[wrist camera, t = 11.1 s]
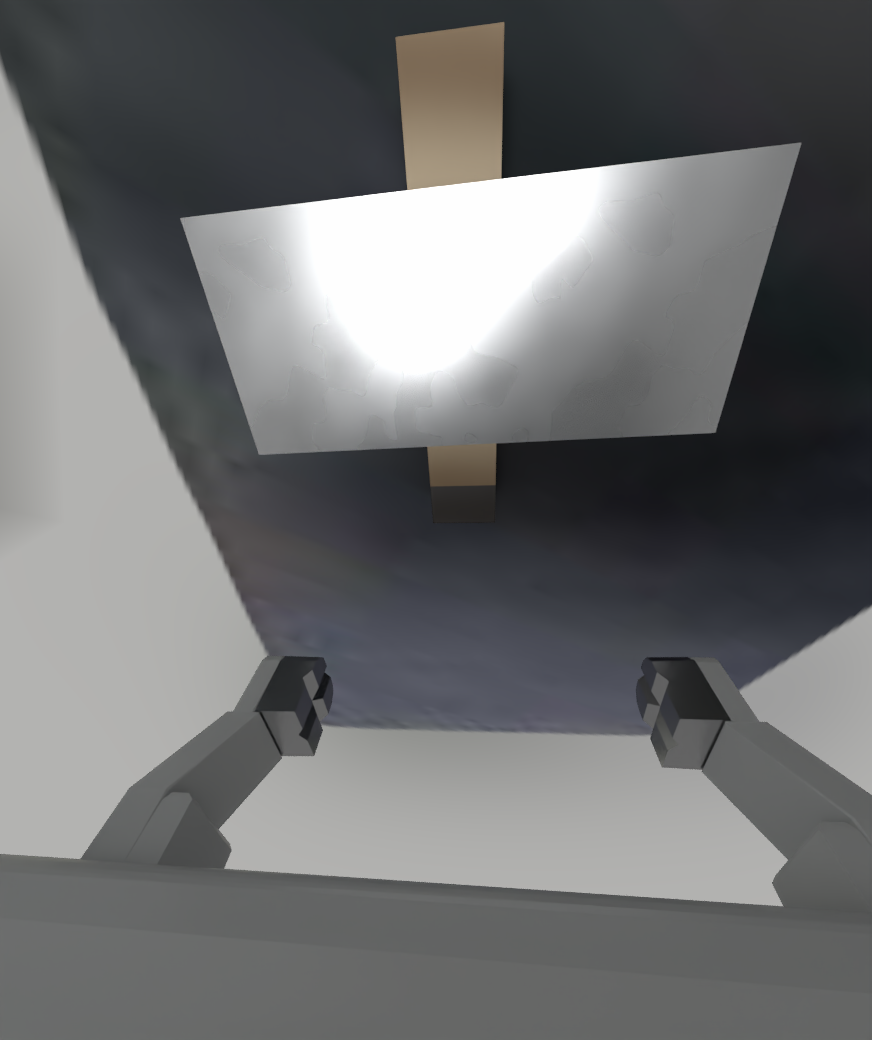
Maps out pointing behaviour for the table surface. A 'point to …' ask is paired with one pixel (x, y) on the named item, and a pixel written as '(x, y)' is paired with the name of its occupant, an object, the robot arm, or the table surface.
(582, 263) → the housing
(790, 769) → the robot arm
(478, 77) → the rod
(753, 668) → the table surface
